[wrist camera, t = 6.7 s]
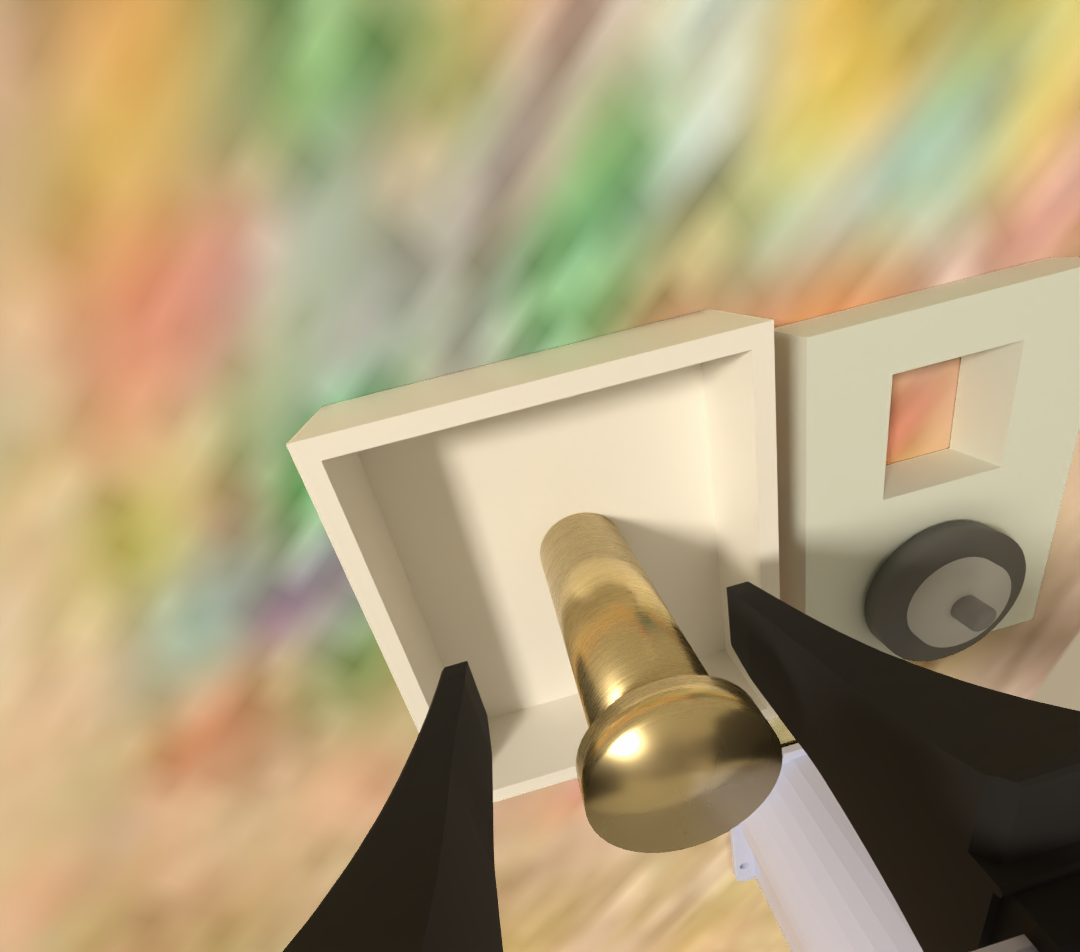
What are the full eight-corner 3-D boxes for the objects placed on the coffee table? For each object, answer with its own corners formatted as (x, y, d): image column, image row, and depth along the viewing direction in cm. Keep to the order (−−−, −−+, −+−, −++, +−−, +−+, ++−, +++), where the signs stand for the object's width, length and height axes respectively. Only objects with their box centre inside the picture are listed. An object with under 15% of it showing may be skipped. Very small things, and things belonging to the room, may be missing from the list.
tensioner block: (985, 590, 22) (1092, 655, 19) (776, 651, 22) (842, 731, 18) (1049, 257, 17) (1220, 254, 13) (767, 329, 16) (860, 348, 12)
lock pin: (642, 580, 19) (783, 818, 11) (538, 609, 18) (602, 874, 10) (628, 486, 17) (781, 683, 9) (514, 516, 17) (567, 745, 9)
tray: (733, 648, 21) (782, 715, 18) (456, 729, 21) (456, 813, 18) (708, 308, 16) (774, 319, 12) (322, 406, 15) (286, 444, 12)
